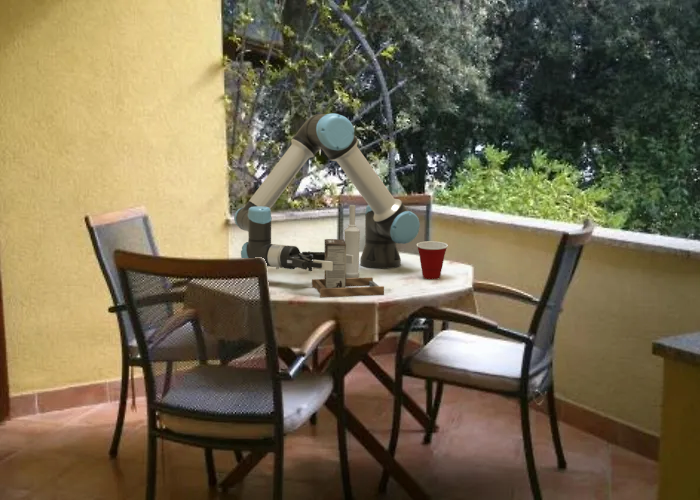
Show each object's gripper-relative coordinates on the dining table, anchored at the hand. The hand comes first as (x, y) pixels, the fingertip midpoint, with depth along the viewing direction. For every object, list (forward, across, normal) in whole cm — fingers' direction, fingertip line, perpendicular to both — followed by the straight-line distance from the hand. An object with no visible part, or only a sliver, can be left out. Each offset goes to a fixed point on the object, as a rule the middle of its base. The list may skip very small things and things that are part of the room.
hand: (342, 262), depth 249 cm
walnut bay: (0, -3, -10) cm, 10 cm away
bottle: (-8, -22, -10) cm, 25 cm away
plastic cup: (+16, -35, -10) cm, 40 cm away
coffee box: (-3, 0, -10) cm, 10 cm away
